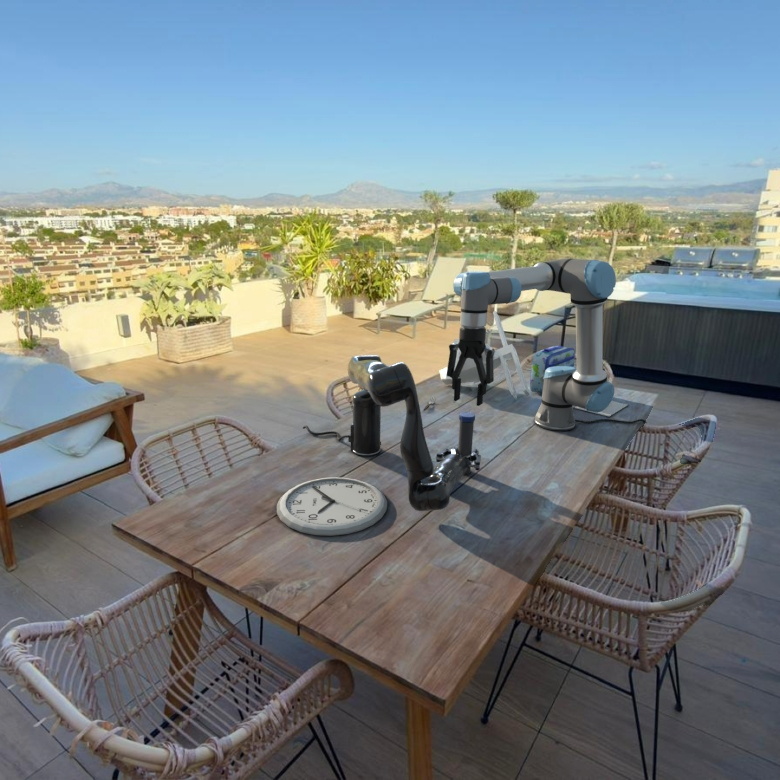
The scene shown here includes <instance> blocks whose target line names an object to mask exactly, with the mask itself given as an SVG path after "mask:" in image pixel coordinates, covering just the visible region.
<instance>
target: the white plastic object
mask: <svg viewBox="0 0 780 780" xmlns="http://www.w3.org/2000/svg"><path fill="white" fill-rule="evenodd" d="M492 315H493V319H494V321H495V324H496V325H495V326H496V328H497V332H498V335H499V338H500V342H501V345H502V347H500V348H498V349H496V350H495V349H494V350H495V353H494V356H493V371H495V370H496V369H497V368H499V367H500V366H502V370H503V373H504V376H505V380H506V383H507V386H508V390H509V393H510V394H511V395H512V397H513V398H514V399H515V400H517V392H516V391H517V390H516V388H515V385H514V381H513V378H512V375H511V371H510V369H509V365H508V361H510V360H513V363H514V366H515V369H516V372H517V376H518V380H519V382H520V385H521V389H522V391H523V393H524V395H525V396H526V397H528V396H531V395H530V389H529V388H528V387H529V386H528V384H527V381H526V378H525V375H524V371H523V369H522V368H523V367H522V366H521V362H520V359H519V355H518V352H517V349H516V347H515V346H514V345H513V343H511V344H508V341H507V337H506V334H505V331H504V328H503V325H502V321H501V318H500V315H499V314H498V312H497V311H496V310H495V311H492ZM458 342H459V338H454V340H453V343H455V344H458ZM485 345H486V347H487V348H489V349H493V348H492V347H491V346H490V344H489V343H488V342H487V343H485ZM460 355H461V351H460V349H459V348H458V350H457V356H456V362H455V368H456V366H457V363H458V361H459V357H460ZM482 358H483V365H484V368H485V372H486V355H485V351H484V352H483V353H482ZM447 368H448V366H446V367H444V368H442V369H440V370H439V371H438V372H439V376H440V381H442V383H443V384H444V385H445V386H449V385H452V378H451V377H449V376H447ZM455 368H454V370H455ZM459 376H460V377H458V378H461V384H467V383H468V384H469V383H473V384H477V383H481V382H480V379H479V375H478V371H477V367H476V363H475V362H474V359H471V358H467V359H466V361H465V363H464V366H463V368H462V370H461V373H460V375H459Z"/></svg>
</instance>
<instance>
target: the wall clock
mask: <svg viewBox="0 0 780 780" xmlns="http://www.w3.org/2000/svg"><path fill="white" fill-rule="evenodd" d="M387 509H388V500H387V498H386V496H385V494H384V493H383V492H382V491H381V490H380V489H379V488H377V487H376V486H374V485H372V484H371V483H369V482H365V481H362V480H359V479H355V478H349V477H338V476H337V477H335V476H333V477H332V476H331V477H322V478H317V479H312V480H307V481H305V482H302V483H299V484H297V485H295V486H293V487H292V488H290V489H288V490H287V491H286V492H285V493H284V494H283V495H281V496H280V498H279V499H278V502H277V503H276V515H277V517H278V518H279V520H280V521H281V522H282V523H283V524H285V525H286V526H287V527H288V528H290V529H293V530H295V531H297V532H299V533H303V534H308V535H312V536H327V537H328V536H329V537H331V536H332V537H333V536H342V535H350V534H352V533H356V532H361V531H363V530H366V529H368V528H369V527H372V526H373V525H375V524H376V523H378V522H379V521H380V520H381V519H382V518H383V517H384V516H385V514H386V512H387Z"/></svg>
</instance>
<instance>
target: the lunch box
mask: <svg viewBox="0 0 780 780" xmlns="http://www.w3.org/2000/svg"><path fill="white" fill-rule="evenodd" d="M575 353H576V350H575V349H574V348H573V347H567V346H561V345H553V346H549V347H547V348H543V349H541V350H538V351H537V352H535V353H534V355H533V357H532V359H531V366H530V379H529V391H531V392H532V393H537V394H542V391H543V380H544V379H543V378H544V375H545V370H546V369H547V368H549V367H555V366H570V367H575V357H576V354H575Z"/></svg>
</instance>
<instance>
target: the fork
mask: <svg viewBox="0 0 780 780" xmlns="http://www.w3.org/2000/svg"><path fill="white" fill-rule="evenodd" d="M436 400H437V397H436V396H432V395H431V396H430V399H429V401H428V404H426V405H425V407H424V409H423V411H422V412H424V411H426V410H428V408H429V407H430V406H431V405H433V404H435V403H436Z"/></svg>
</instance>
